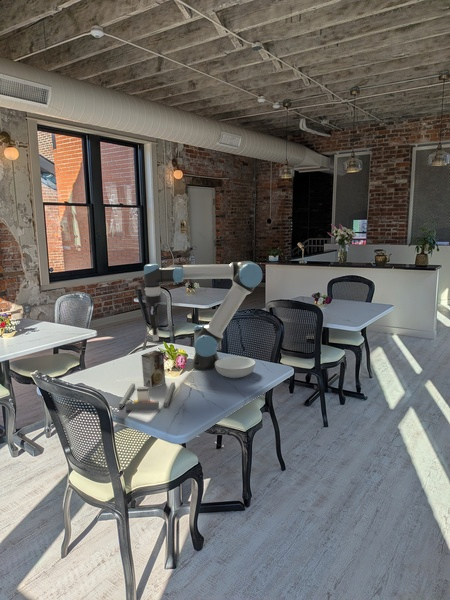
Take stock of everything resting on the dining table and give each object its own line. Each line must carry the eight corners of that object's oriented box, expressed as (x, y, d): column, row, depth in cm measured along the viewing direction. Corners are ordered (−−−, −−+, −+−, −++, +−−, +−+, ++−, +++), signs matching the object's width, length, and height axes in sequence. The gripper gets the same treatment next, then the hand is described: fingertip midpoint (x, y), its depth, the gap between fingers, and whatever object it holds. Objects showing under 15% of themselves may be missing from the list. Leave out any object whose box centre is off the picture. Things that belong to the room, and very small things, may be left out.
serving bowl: (262, 378, 221) (262, 364, 220) (224, 385, 213) (223, 371, 212) (245, 366, 240) (245, 354, 239) (209, 372, 232) (209, 359, 231)
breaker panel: (174, 386, 214) (174, 378, 213) (166, 409, 188) (165, 400, 187) (132, 387, 214) (131, 380, 214) (117, 410, 188) (117, 402, 188)
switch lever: (150, 403, 194) (149, 386, 193) (148, 406, 190) (147, 389, 189) (139, 403, 194) (138, 386, 193) (137, 407, 190) (136, 389, 189)
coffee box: (157, 380, 222) (155, 350, 220) (165, 383, 218) (163, 352, 216) (143, 386, 216) (140, 354, 213) (151, 389, 211) (149, 356, 209)
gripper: (148, 293, 227) (151, 337, 231) (143, 297, 214) (146, 344, 218) (162, 292, 227) (165, 336, 231) (158, 296, 214) (161, 343, 218)
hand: (155, 340), depth 225 cm, fingers closed
